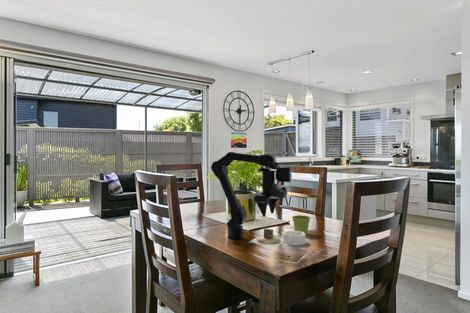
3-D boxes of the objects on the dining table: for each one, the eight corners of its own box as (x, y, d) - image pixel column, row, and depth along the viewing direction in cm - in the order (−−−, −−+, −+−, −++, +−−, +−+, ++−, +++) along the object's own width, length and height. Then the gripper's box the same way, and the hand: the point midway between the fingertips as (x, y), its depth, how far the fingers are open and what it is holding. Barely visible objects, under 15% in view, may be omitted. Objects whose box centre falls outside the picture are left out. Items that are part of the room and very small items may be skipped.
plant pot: (313, 236, 151) (313, 218, 151) (295, 237, 150) (295, 219, 150) (306, 231, 161) (306, 215, 161) (289, 232, 159) (289, 215, 159)
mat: (248, 243, 139) (248, 242, 139) (261, 236, 151) (261, 235, 151) (276, 248, 132) (276, 246, 132) (287, 240, 144) (287, 238, 144)
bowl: (279, 244, 138) (279, 234, 138) (287, 238, 146) (287, 229, 146) (301, 247, 133) (301, 237, 133) (307, 241, 141) (307, 232, 141)
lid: (252, 241, 140) (252, 230, 140) (262, 236, 149) (262, 225, 149) (274, 245, 134) (274, 233, 134) (283, 239, 144) (283, 228, 144)
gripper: (277, 184, 129) (276, 220, 129) (292, 180, 145) (291, 213, 145) (253, 182, 135) (253, 217, 135) (270, 179, 151) (270, 211, 151)
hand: (268, 214), depth 141 cm, fingers open, 9 cm apart
